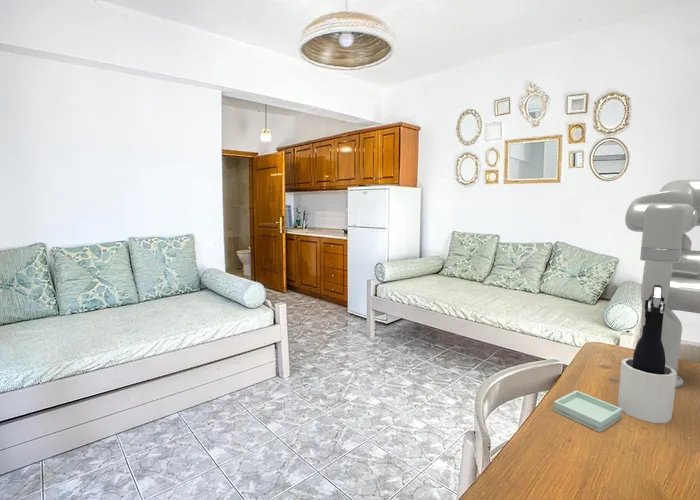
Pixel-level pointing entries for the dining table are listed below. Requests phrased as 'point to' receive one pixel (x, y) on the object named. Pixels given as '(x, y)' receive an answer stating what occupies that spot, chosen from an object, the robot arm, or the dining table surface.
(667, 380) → the wine cooler
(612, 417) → the sage tray
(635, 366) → the wine bottle
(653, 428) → the dining table surface
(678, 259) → the robot arm
